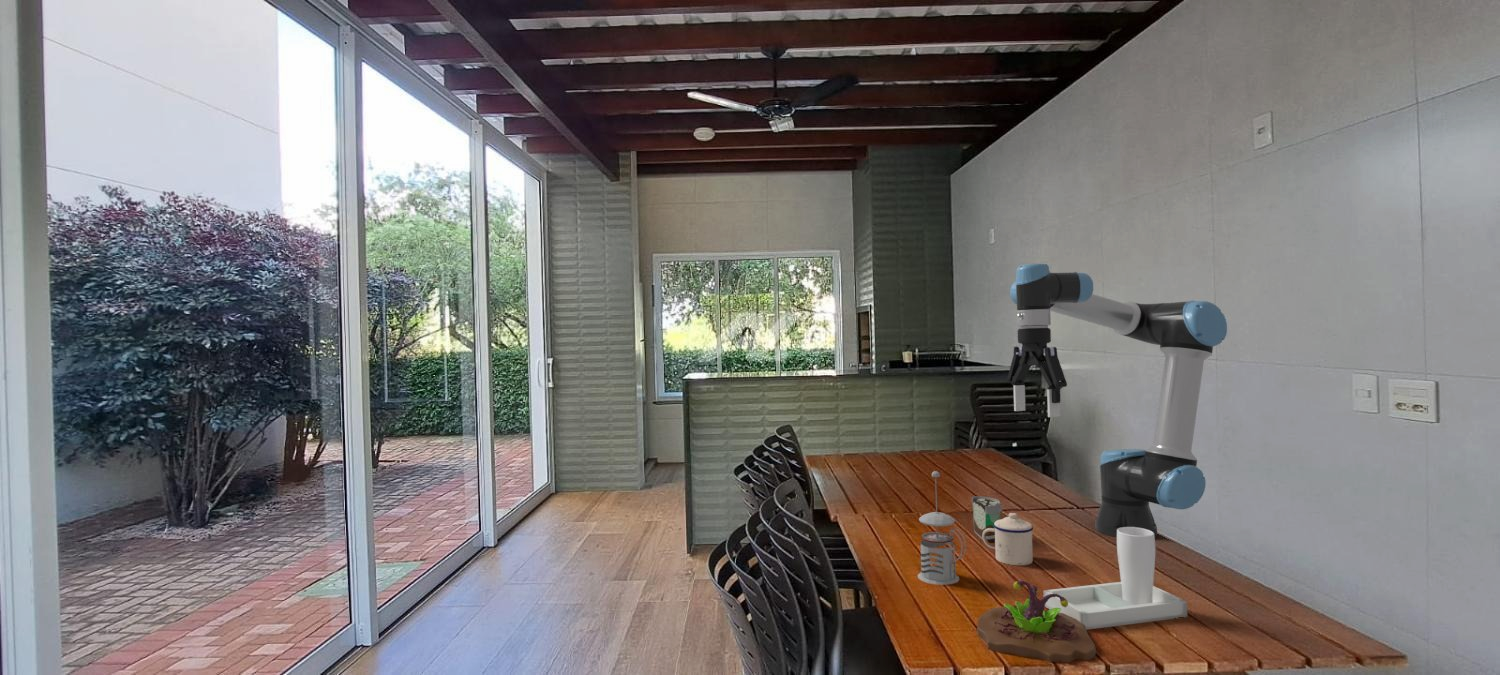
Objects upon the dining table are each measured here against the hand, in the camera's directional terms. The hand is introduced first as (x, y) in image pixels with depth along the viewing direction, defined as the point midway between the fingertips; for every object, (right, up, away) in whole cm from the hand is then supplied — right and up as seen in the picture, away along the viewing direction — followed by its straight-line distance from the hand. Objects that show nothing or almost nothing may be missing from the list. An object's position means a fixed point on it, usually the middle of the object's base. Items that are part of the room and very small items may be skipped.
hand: (1036, 413), depth 164 cm
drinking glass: (+8, -36, -29) cm, 47 cm away
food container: (-3, -37, +22) cm, 43 cm away
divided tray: (+3, -37, -30) cm, 47 cm away
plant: (-18, -38, -40) cm, 58 cm away
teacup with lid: (-6, -37, +3) cm, 38 cm away
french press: (-26, -38, -9) cm, 46 cm away
